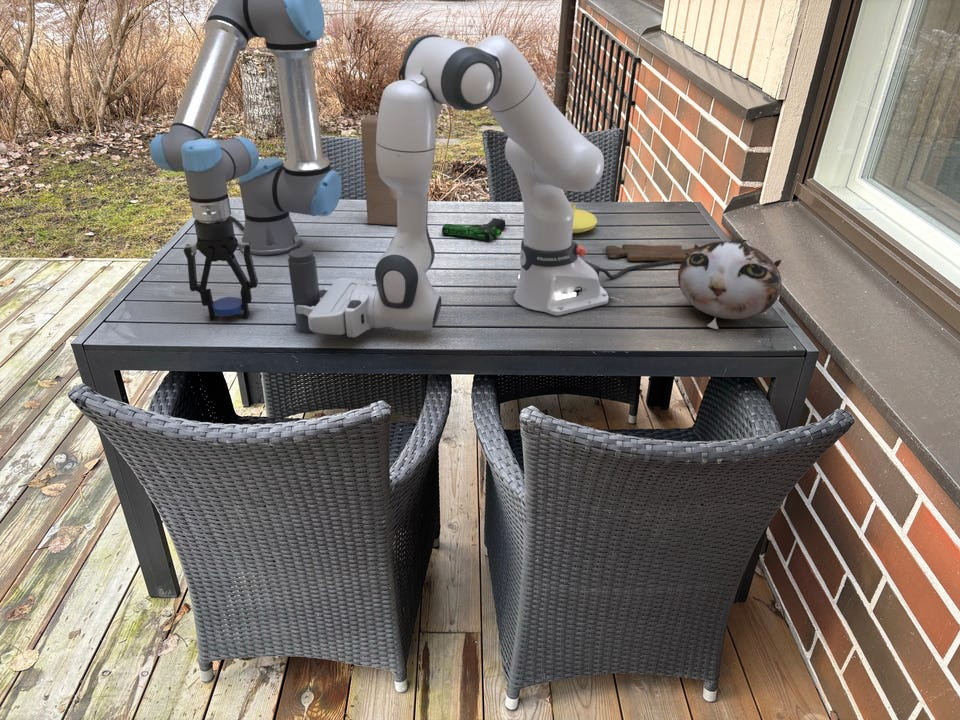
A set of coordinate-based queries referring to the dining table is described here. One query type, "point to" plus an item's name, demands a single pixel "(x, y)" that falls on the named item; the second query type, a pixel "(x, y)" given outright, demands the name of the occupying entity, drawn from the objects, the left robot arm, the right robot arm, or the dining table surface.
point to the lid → (227, 306)
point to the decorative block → (376, 179)
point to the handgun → (476, 230)
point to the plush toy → (729, 280)
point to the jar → (303, 283)
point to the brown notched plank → (648, 252)
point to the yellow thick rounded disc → (583, 220)
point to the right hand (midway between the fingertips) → (302, 301)
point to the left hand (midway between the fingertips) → (229, 316)
